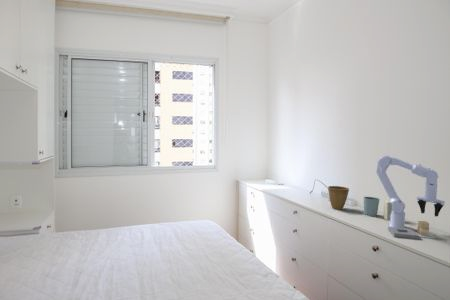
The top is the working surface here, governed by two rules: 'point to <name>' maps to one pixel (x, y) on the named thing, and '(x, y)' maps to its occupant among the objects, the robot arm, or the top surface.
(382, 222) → the top surface
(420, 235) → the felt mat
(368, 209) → the teal tapered pot
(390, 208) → the skincare box
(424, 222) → the oak block
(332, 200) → the plant pot
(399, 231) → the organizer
